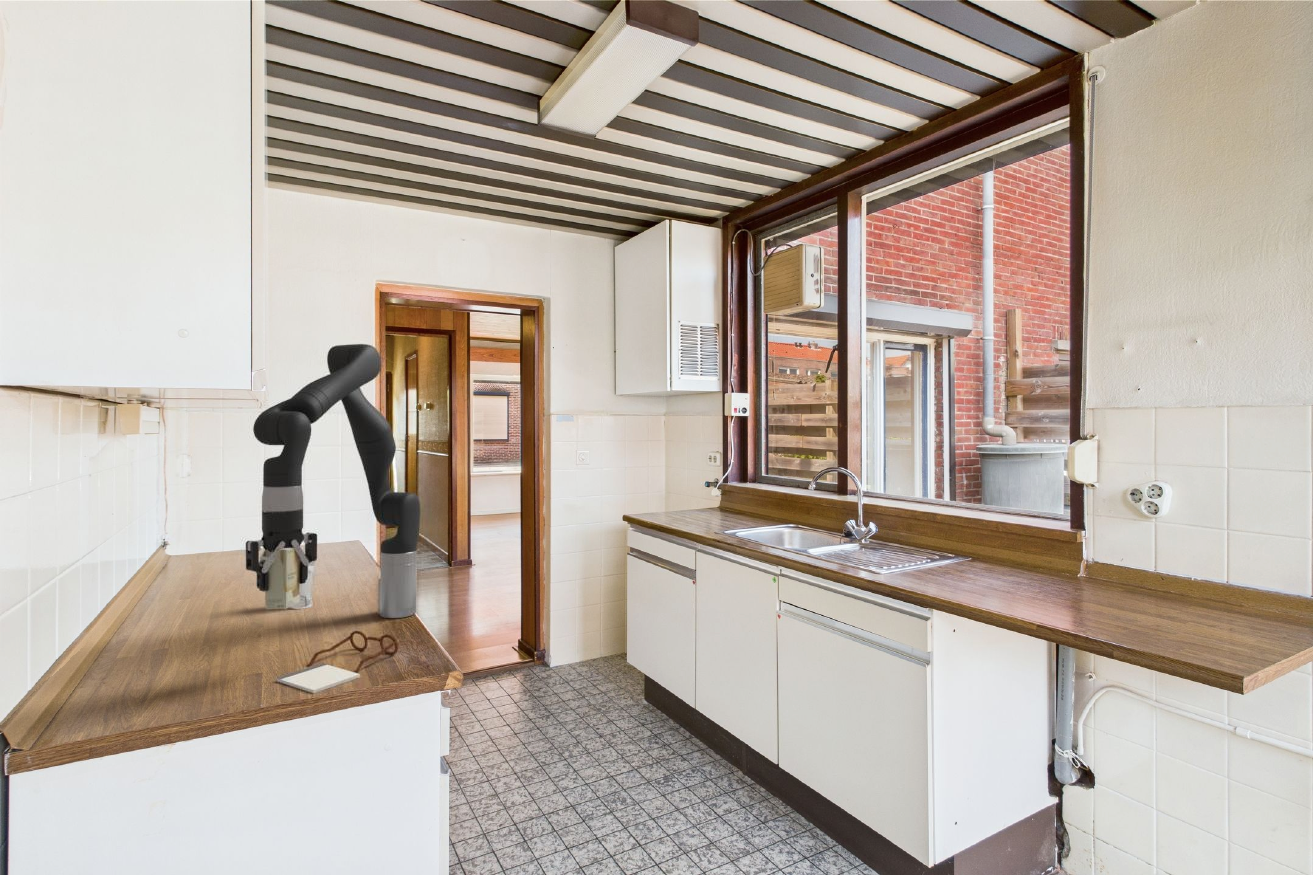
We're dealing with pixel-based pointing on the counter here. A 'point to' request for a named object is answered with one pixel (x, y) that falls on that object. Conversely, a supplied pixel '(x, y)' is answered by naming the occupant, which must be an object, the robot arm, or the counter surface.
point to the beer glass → (306, 589)
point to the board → (318, 678)
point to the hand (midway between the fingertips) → (282, 586)
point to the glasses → (384, 650)
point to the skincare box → (283, 580)
